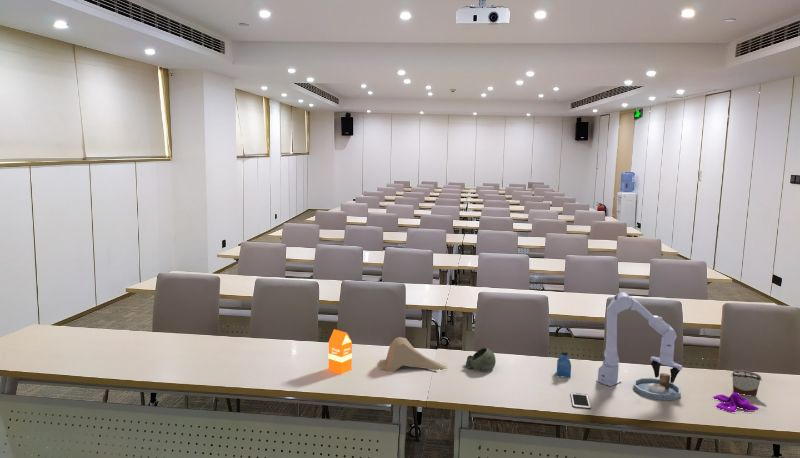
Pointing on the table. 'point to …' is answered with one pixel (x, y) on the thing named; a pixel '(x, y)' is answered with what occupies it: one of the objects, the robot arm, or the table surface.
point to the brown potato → (664, 380)
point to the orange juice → (340, 352)
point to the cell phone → (580, 400)
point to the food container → (745, 382)
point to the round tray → (656, 389)
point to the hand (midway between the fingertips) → (664, 379)
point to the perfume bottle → (564, 365)
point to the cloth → (734, 402)
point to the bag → (407, 357)
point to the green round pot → (481, 360)
